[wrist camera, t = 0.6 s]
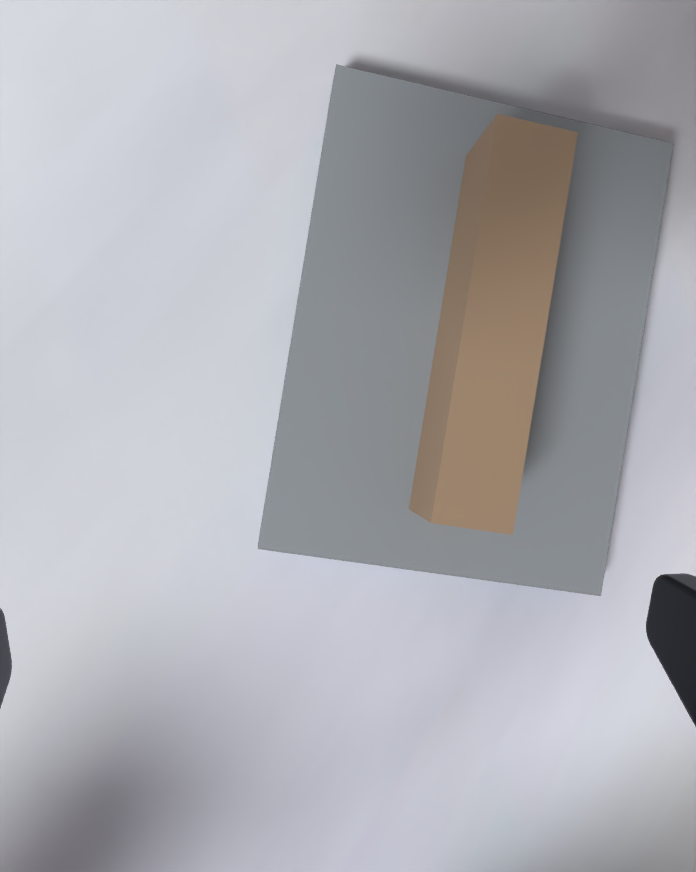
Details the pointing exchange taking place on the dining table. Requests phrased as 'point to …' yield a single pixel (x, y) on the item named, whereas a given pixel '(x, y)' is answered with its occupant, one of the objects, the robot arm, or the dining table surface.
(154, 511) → the dining table surface
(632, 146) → the ridge stand
